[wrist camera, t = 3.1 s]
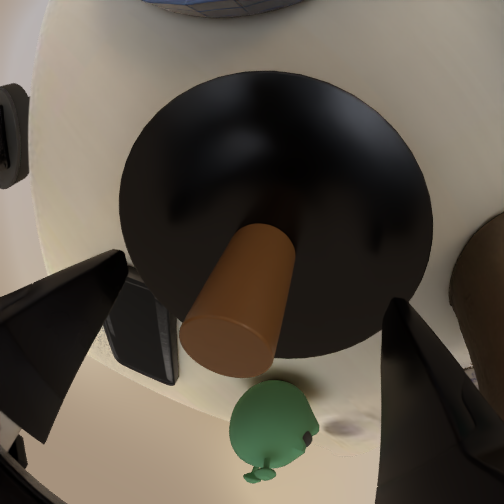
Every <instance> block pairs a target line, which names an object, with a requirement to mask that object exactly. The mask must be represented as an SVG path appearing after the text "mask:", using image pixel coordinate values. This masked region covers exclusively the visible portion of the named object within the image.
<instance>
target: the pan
mask: <svg viewBox="0 0 504 504" xmlns="http://www.w3.org/2000/svg"><path fill="white" fill-rule="evenodd" d="M141 1H144V2H146V3H149V4H152V5H155V6H158V7H161V8H163V9H166V10H169V11H171V12H174V13H181V14H185V15H191V16H198V17H212V18H221V17H238V16H248V15H253V14H259V13H265V12H269V11H273V10H277V9H281V8H284V7H287V6H290V5H293V4H296V3H299V2H301V1H304V0H141Z"/></svg>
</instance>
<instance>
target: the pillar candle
mask: <svg viewBox="0 0 504 504" xmlns="http://www.w3.org/2000/svg"><path fill="white" fill-rule="evenodd" d="M449 289H450V290H449V302H450V305H451V306H452V307H453V310H454V312H455V314H456V317H457V319H458V322H459V326H460V330H461V332H462V335H463V338H464V340H465V343H466V346H467V349H468V351H469V354H470V359H471V362H472V364H473V368H474V371H475V374H476V379H477V382H478V387H479V391H480V393H481V394H482V395H483V396H484V398H485V399H486V400H487V401H488V403H489V404H490V405H491V407H492V408H493V409H494V410H495V411H496V413H497V414H498V415H499V416H500V418H501V419H502V420H503V421H504V213H502V214H500V215H498V216H497V217H496V218H494V219H493V220H491V221H490V222H488V223H487V224H486V225H485V226H483V227H482V228H481V229H480V230H479V231H478V232H477V233H476V234H475V235H474V236H473V237H472V238H471V239H470V241H469V242H468V244H467V245H466V246H465V248H464V249H463V251H462V253H461V255H460V257H459V258H458V260H457V264H456V265H455V267H454V270H453V273H452V277H451V280H450V287H449Z"/></svg>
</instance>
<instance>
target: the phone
mask: <svg viewBox="0 0 504 504" xmlns="http://www.w3.org/2000/svg"><path fill="white" fill-rule="evenodd" d="M128 269H129V274H128V277H127V279H126V281H125V283H124V285H123V287H122V289H121V291H120V293H119V295H118V297H117V299H116V301H115V304H114V306H113V308H112V310H111V311H110V313H109V315H108V317H107V318H106V320H105V322H104V324H103V327H104V330H105V333H106V336H107V339H108V341H109V344H110V347H111V350H112V353H113V355H114V357H115V359H116V360H117V361H118V362H119V363H120V364H122V365H124V366H126V367H128V368H130V369H132V370H134V371H136V372H138V373H141V374H143V375H145V376H147V377H150V378H152V379H154V380H157V381H159V382H161V383H164V384H166V385H170V386H174V385H175V383H176V381H177V379H178V377H179V372H178V357H177V339H176V317H175V316H174V315H173V314H171V313H170V312H169V311H168V310H167V309H166V308H165V307H164V306H163V305H162V304H161V303H160V302H159V301H158V300H157V298H156V297H155V296H154V295H153V294H152V292H151V291H150V290H149V289H148V287H147V286H146V284H145V283H144V281H143V280H142V278H141V277H140V275H139V273H138V272H137V270H136V268H133V267H130V266H128Z"/></svg>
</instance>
